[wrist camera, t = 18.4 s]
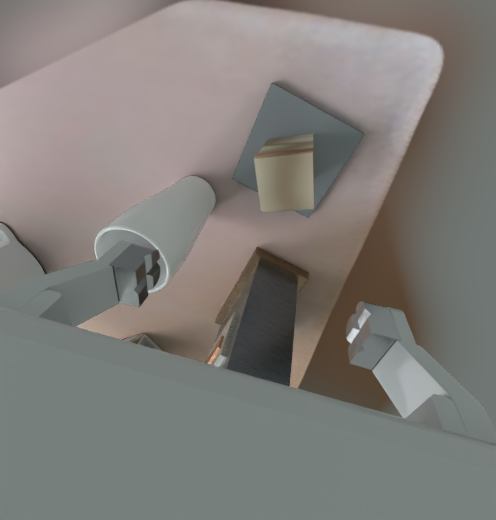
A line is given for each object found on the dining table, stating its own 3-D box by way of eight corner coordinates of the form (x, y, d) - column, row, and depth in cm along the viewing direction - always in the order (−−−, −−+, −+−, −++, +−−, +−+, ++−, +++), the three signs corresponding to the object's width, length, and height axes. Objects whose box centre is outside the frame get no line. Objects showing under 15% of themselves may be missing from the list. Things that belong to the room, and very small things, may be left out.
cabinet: (217, 315, 46) (170, 432, 31) (256, 247, 36) (216, 367, 21) (260, 335, 46) (234, 459, 31) (309, 273, 37) (306, 407, 22)
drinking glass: (230, 183, 32) (179, 250, 20) (212, 228, 36) (161, 305, 24) (178, 158, 31) (93, 210, 19) (166, 205, 35) (90, 273, 23)
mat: (234, 175, 31) (231, 178, 30) (272, 82, 25) (271, 83, 25) (308, 214, 32) (308, 218, 31) (362, 132, 26) (364, 134, 25)
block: (271, 182, 30) (260, 212, 23) (267, 138, 27) (253, 158, 21) (314, 179, 29) (314, 209, 22) (313, 132, 26) (313, 151, 20)
